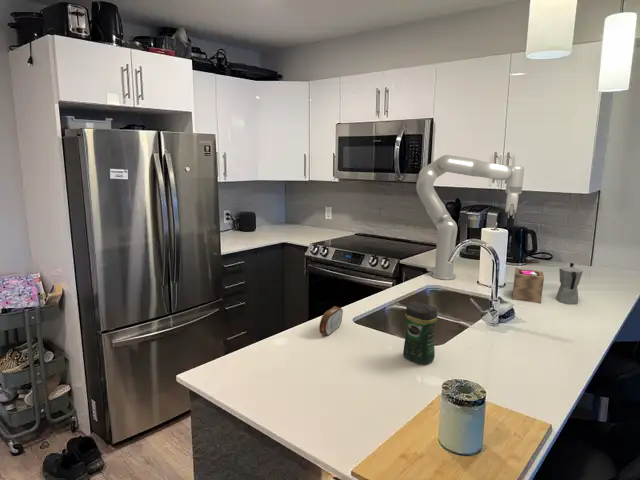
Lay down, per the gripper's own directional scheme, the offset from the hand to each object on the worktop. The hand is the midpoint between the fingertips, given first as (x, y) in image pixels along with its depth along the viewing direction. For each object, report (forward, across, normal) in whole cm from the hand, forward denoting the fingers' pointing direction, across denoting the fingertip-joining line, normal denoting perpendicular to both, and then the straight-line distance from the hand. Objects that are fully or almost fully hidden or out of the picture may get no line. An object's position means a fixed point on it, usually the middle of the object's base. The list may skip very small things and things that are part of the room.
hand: (509, 225), depth 226 cm
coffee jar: (+29, +109, -24) cm, 115 cm away
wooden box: (+29, +26, +10) cm, 40 cm away
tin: (+29, +101, -58) cm, 120 cm away
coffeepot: (+29, +24, +27) cm, 47 cm away
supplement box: (+28, +26, +10) cm, 40 cm away
